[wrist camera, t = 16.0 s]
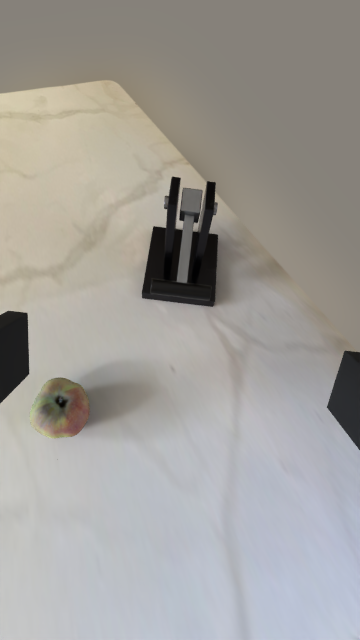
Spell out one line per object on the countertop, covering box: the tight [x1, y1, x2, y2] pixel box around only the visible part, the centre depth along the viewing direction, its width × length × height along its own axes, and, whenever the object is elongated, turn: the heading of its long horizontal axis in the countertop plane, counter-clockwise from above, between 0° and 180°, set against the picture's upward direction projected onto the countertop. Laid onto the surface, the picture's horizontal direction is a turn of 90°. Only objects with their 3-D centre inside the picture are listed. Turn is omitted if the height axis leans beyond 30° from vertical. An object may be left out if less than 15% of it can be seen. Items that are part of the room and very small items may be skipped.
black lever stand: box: [142, 177, 218, 307], centre depth 41 cm, size 12×10×14 cm
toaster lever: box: [150, 188, 212, 301], centre depth 35 cm, size 12×6×2 cm, turn 174°
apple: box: [30, 378, 90, 460], centre depth 33 cm, size 6×8×6 cm
